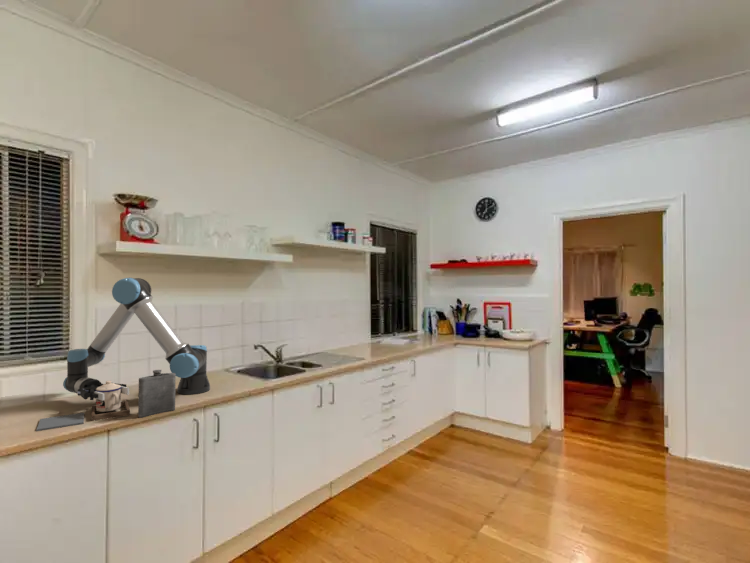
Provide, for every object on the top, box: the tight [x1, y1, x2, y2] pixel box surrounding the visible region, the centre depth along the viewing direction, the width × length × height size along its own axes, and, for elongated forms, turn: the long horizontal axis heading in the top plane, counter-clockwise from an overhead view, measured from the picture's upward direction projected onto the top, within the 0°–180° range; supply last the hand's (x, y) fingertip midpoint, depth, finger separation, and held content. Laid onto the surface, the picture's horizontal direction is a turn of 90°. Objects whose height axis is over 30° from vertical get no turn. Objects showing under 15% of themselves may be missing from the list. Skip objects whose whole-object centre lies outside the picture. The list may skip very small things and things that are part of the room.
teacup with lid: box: [95, 380, 122, 413], centre depth 169 cm, size 12×9×12 cm
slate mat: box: [36, 412, 85, 432], centre depth 157 cm, size 14×14×1 cm
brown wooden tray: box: [91, 400, 131, 422], centre depth 169 cm, size 13×16×2 cm
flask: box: [137, 369, 177, 419], centre depth 169 cm, size 4×14×18 cm, turn 139°
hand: (116, 394), depth 167 cm, fingers closed on teacup with lid, 9 cm apart
